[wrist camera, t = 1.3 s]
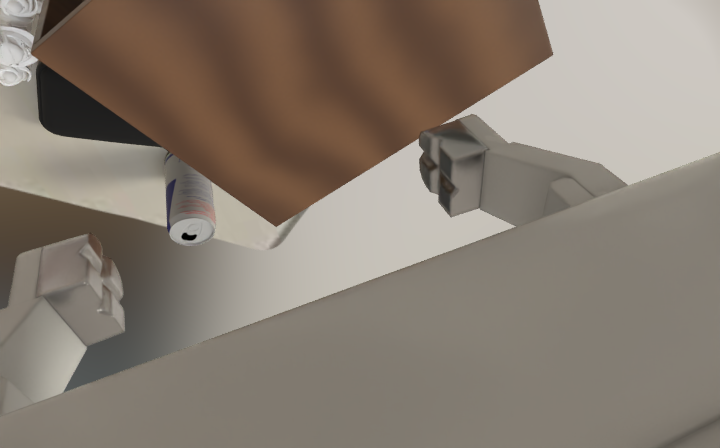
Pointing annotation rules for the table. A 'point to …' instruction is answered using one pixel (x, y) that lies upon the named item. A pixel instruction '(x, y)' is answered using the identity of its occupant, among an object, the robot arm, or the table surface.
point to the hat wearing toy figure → (16, 39)
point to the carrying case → (80, 112)
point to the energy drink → (188, 203)
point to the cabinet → (288, 79)
